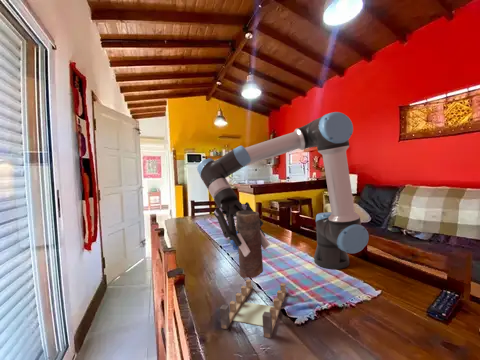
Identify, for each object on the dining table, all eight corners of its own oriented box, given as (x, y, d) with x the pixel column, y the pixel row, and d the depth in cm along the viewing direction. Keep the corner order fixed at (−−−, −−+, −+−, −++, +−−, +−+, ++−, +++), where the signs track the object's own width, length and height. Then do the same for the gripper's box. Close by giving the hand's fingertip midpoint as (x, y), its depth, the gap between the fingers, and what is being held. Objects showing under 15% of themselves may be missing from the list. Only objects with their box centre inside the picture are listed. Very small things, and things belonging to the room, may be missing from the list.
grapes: (234, 256, 126) (233, 234, 126) (229, 253, 132) (227, 231, 132) (253, 251, 132) (252, 229, 131) (247, 248, 138) (245, 227, 137)
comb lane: (287, 292, 88) (286, 276, 88) (270, 338, 66) (269, 316, 65) (248, 287, 94) (247, 272, 93) (221, 328, 71) (219, 308, 71)
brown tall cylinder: (249, 267, 82) (245, 208, 80) (268, 272, 77) (264, 210, 76) (235, 276, 76) (230, 213, 74) (254, 282, 71) (249, 215, 70)
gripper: (241, 197, 93) (274, 248, 81) (194, 205, 81) (225, 267, 69) (249, 183, 89) (286, 235, 77) (201, 190, 76) (235, 253, 65)
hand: (257, 250), depth 73 cm, fingers closed on brown tall cylinder, 7 cm apart
